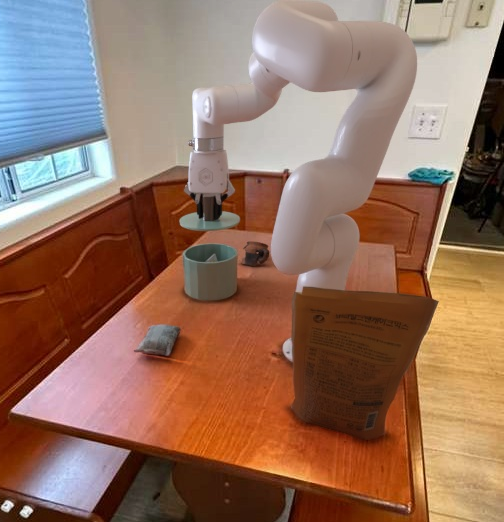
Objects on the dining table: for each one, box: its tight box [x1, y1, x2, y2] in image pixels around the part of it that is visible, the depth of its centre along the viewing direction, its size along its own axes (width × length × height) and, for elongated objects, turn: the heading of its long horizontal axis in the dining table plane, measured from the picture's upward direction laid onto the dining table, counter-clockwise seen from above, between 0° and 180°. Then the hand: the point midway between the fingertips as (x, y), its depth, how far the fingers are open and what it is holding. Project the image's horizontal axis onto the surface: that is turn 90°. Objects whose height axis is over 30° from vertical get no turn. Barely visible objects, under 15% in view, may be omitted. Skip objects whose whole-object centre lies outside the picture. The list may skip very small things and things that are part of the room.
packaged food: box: [133, 324, 182, 357], centre depth 96 cm, size 9×12×5 cm
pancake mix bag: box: [290, 286, 440, 441], centre depth 65 cm, size 7×19×28 cm, turn 62°
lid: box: [178, 193, 241, 232], centre depth 109 cm, size 17×17×8 cm
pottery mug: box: [241, 241, 270, 267], centre depth 137 cm, size 12×10×8 cm
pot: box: [182, 242, 239, 301], centre depth 119 cm, size 16×16×12 cm
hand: (209, 217), depth 110 cm, fingers closed on lid, 4 cm apart
